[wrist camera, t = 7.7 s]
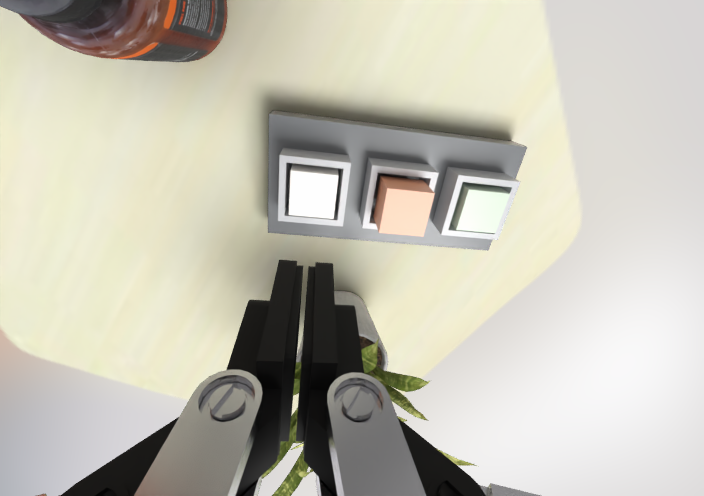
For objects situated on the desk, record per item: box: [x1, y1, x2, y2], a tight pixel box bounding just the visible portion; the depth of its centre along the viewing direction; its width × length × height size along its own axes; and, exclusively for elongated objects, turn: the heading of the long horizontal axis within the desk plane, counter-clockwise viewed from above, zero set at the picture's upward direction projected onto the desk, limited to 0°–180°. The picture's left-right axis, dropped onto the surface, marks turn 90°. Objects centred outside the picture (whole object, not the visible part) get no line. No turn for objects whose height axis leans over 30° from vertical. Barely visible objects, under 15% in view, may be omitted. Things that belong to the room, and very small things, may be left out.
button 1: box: [289, 163, 339, 219], centre depth 21 cm, size 3×3×2 cm
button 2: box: [373, 176, 435, 237], centre depth 20 cm, size 3×3×2 cm
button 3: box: [451, 182, 510, 233], centre depth 22 cm, size 3×3×2 cm
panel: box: [268, 110, 527, 250], centre depth 22 cm, size 8×17×4 cm, turn 82°
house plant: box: [262, 291, 474, 496], centre depth 23 cm, size 14×14×16 cm
